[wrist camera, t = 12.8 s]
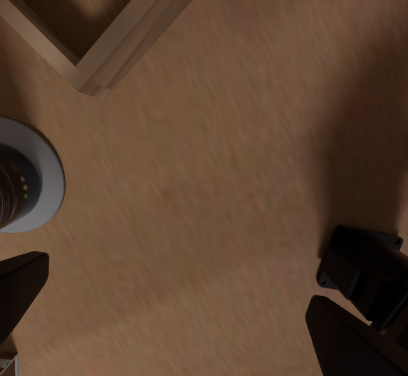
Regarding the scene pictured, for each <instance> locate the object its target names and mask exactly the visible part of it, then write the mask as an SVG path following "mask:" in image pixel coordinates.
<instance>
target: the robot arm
mask: <svg viewBox="0 0 408 376" xmlns="http://www.w3.org/2000/svg"><path fill="white" fill-rule="evenodd" d="M341 230H343V231H342V232H341V233H340V231H341ZM396 240H397V241H396ZM395 241H396V242H395ZM402 243H403V239H402V238H401V237H399V236H397V235H393V234H387V233H382V232H376V231H371V230H365V229H360V228H354V227H349V226H343V225H339V226H337V227H336V229H335V231H334V234H333V237H332V239H331V242H330V245H329V247H328V249H327V252H326V255H325V258H324V260H323V263H322V266H321V269H320V272H319V275H318V278H317V283H318V285H319V286H320V287H324V288H330V289H336V290H339V291H340V292H341V294H342V295H343V296H344V297H345V298H346V299H347V300H350V302H351V303H352V304H353V305H354V306H355V307H356V308H357V309H358V311H359V312H360V313H361V314H362V315H363V316H364V317H365V319H366V320H368V321H373V322H372V323H371V324H370V326H369V325H367V324H366V323H364V322H363V321H361V320H360V319H358V318H357V317H355V316H354V315H352V314H351V313H350V312H348V311H347V310H345V309H344V308H342V307H341V306H339V305H338V304H336V303H335V302H333V301H332V300H330V299H329V298H327V297H325V296H320V295H314V296H313V297H312V298H311V301H310V303H309V306H308V309H307V312H306V316H305V319H306V323H307V327H308V330H309V333H310V336H311V339H312V343H313V346H314V349H315V352H316V355H317V359H318V362H319V365H320V368H321V370H322V373H323V376H408V256H407V255H405V254H403V253H402V252H400V251H399V250H400V248H401V245H402ZM48 274H49V255H48V254H47V253H45V252H38V251H32V252H29V253H26V254H22V255H19V256H16V257H12V258H9V259H6V260H3V261H0V346H1V344H2V343H3V342H4V341H5V340H6V338H7V337H8V336H9V335H10V333H11V332H12V331H13V329H14V328H15V327H16V325H17V324H18V323H19V321H20V320H21V318H22V317H23V315H24V314H25V312H26V311H27V309H28V308H29V307H30V305H31V304H32V302H33V301H34V299H35V298H36V296H37V295H38V293H39V292H40V290H41V289H42V288H43V286H44V285H45V283H46V281H47V279H48ZM322 281H324V282H322Z"/></svg>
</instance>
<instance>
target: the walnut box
mask: <svg viewBox="0 0 408 376" xmlns="http://www.w3.org/2000/svg"><path fill="white" fill-rule="evenodd" d="M190 2H191V0H131V1H130V2H129V3H128V4H127V6H126V7H125V8H124V9H123V10H122V12H121V13H120V14H119V15H118V16H117V17H116V19H115V20H114V21H113V22H112V23H111V25H110V26H109V27H108V28H107V29H106V31H105V32H104V33H103V34H102V35H101V37H100V38H99V39H98V40H97V41H96V43H95V44H94V45H93V46H92V47H91V48H90V50H89V51H88V52H87V53H86V54H85V56H84V57H83V58H82V59H80V58H79V57H78V56H77V55H76V54H75V53H74V52H73V51H72V50H71V49H70V48H69V47H68V46H67V45H66V44H65V43H64V42H63V41H62V40H61V39H60V38H59V37H58V35H57V34H56V33H55V32H54V31H53V30H52V29H51V28H50V27H49V26H48V25H47V24H46V23H45V22H44V21H43V20H42V19H41V18H40V17H39V16H38V15H37V14H36V13H35V12H34V11H33V10H32V9H31V8H30V7H29V6H28V5H27V4H26V3H25V2H24V1H23V0H0V16H1V17H2V18H3V19H4V20H5V21H6V22H7V23H8V24H9V25H10V26H11V27H12V28H13V29H14V30H15V31H16V32H17V33H18V34H19V35H20V36H22V37H23V38H24V39H25V40H26V41H27V42H28V43H29V44H30V45H31V46H32V47H33V48H34V49H35V50H36V51H37V52H38V53H39V54H40V55H41V56H42V57H43V58H44V59H45V60H46V61H47V62H48V63H49V64H50V65H51V66H52V67H53V68H54V69H55V70H56V71H57V72H59V73H60V74H61V75H62V76H63V77H64V78H65V79H66V80H67V81H68V82H69V83H70V84H71V85H72V86H73V87H74V88H75V89H76V90H77V91H78V92H81V93H85V94H88V95H91V96H94V97H97V98H100V99H104V98H105V97H106V96H107V95H108V94H109V93H110V92H111V90H112V89H113V88H114V87H115V86H116V85H117V84H118V83H119V81H120V80H121V79H122V78H123V77H124V76H125V75H126V74H127V72H128V71H129V70H130V69H131V68H132V67H133V66H134V65H135V63H136V62H137V61H138V60H139V59H140V58H141V57H142V56H143V54H144V53H145V52H146V51H147V50H148V49H149V48H150V47H151V45H152V44H153V43H154V42H155V41H156V40H157V39H158V38H159V36H160V35H161V34H162V33H163V32H164V31H165V30H166V29H167V27H168V26H169V25H170V24H171V23H172V22H173V21H174V20H175V18H176V17H177V16H178V15H179V14H180V13H181V12H182V11H183V9H184V8H185V7H186V6H187V5H188V4H189V3H190Z"/></svg>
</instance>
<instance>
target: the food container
mask: <svg viewBox="0 0 408 376" xmlns="http://www.w3.org/2000/svg"><path fill="white" fill-rule="evenodd" d="M0 376H18V353H2V354H0Z"/></svg>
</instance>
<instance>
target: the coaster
mask: <svg viewBox="0 0 408 376" xmlns="http://www.w3.org/2000/svg"><path fill="white" fill-rule="evenodd" d="M0 143H4V144H6V145H9V146H11V147H13V148H15V149H17V150H18V151H20V152H21V153H23V154H24V155H25V156H26V157H27V158H28V159H29V160H30V161H31V162H32V164H33V165H34V167H35V168H36V170H37V172H38V175H39V178H40V182H41V194H40V198H39V201H38V203H37V205H36V206H35V207H34V209H33V210H32V211H31V212H30V213H28V214H27V215H26V216H24V217H22V218H20V219H19V220H17V221H15V222H13V223H12V224H10V225H8V226H6V227H4V228H2V229H0V232H7V233H20V232H26V231H30V230H33V229H35V228H38V227H40V226H41V225H43V224H45V223H46V222H48V221H49V220H50V219H51V218H52V217H53V216H54V215H55V214H56V213H57V211H58V210H59V208H60V206H61V204H62V202H63V198H64V194H65V177H64V172H63V168H62V165H61V163H60V160H59V158H58V156H57V155H56V153H55V151H54V150H53V149H52V147H51V146H50V145H49V143H48V142H47V141H46V140H45V139H44V138H43V137H42V136H40V135H39V134H38V133H37V132H36V131H34V130H33V129H31V128H30V127H28V126H26V125H24V124H22V123H20V122H17V121H15V120H12V119H8V118H3V117H0Z"/></svg>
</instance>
